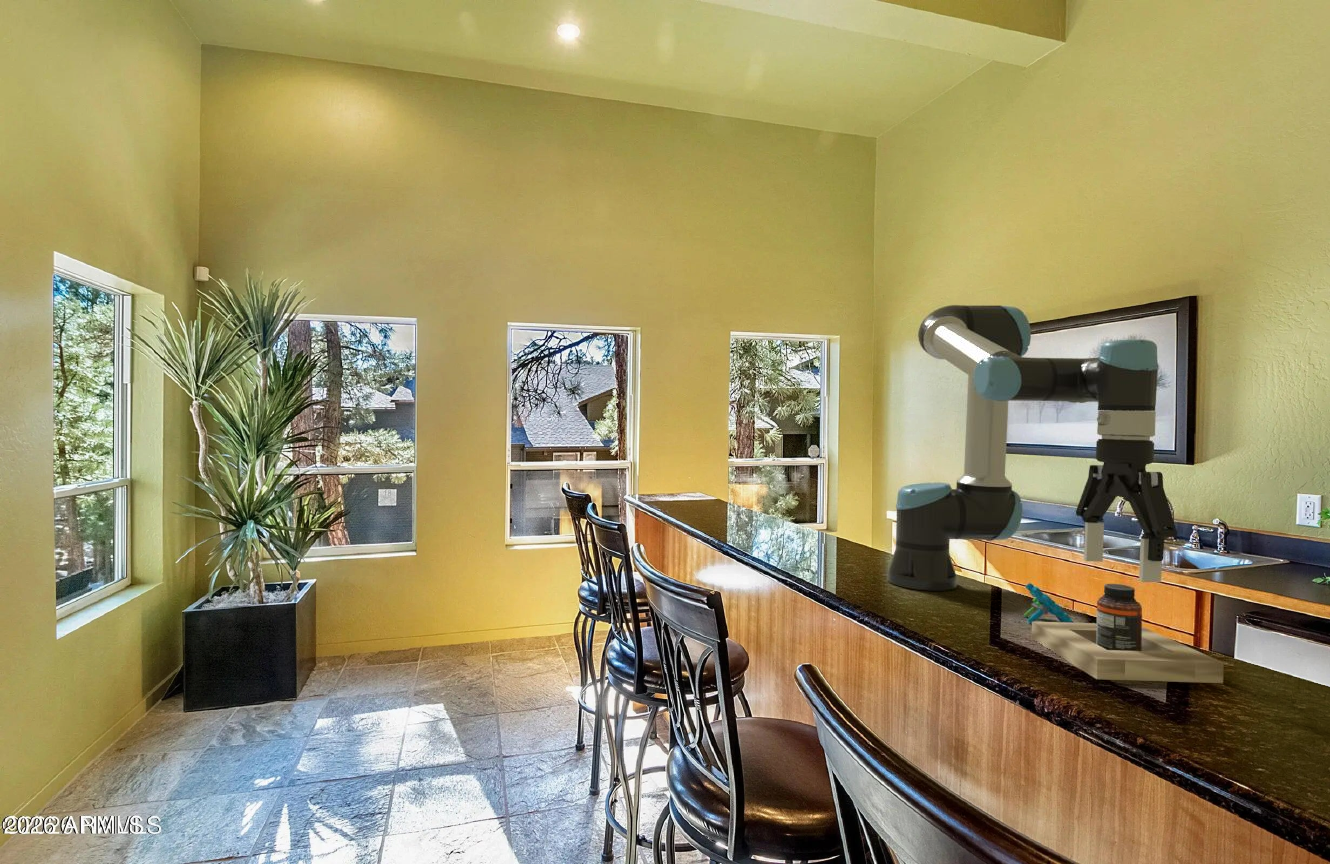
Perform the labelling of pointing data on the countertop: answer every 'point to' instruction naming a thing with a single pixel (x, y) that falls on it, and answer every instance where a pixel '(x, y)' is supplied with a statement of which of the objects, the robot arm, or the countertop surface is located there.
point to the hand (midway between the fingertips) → (1119, 570)
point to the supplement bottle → (1119, 619)
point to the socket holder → (1127, 655)
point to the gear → (1044, 606)
